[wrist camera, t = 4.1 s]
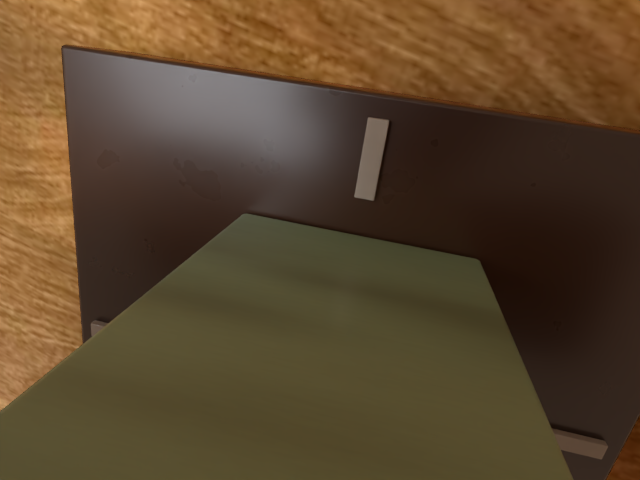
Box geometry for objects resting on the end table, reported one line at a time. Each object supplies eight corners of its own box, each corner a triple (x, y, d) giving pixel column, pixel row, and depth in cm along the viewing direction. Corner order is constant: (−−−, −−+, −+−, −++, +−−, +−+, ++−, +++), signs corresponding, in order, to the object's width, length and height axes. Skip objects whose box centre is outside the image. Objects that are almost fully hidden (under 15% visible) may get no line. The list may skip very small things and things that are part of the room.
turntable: (510, 550, 13) (530, 637, 11) (134, 447, 14) (89, 507, 12) (696, 138, 8) (788, 156, 6) (124, 51, 10) (52, 42, 8)
